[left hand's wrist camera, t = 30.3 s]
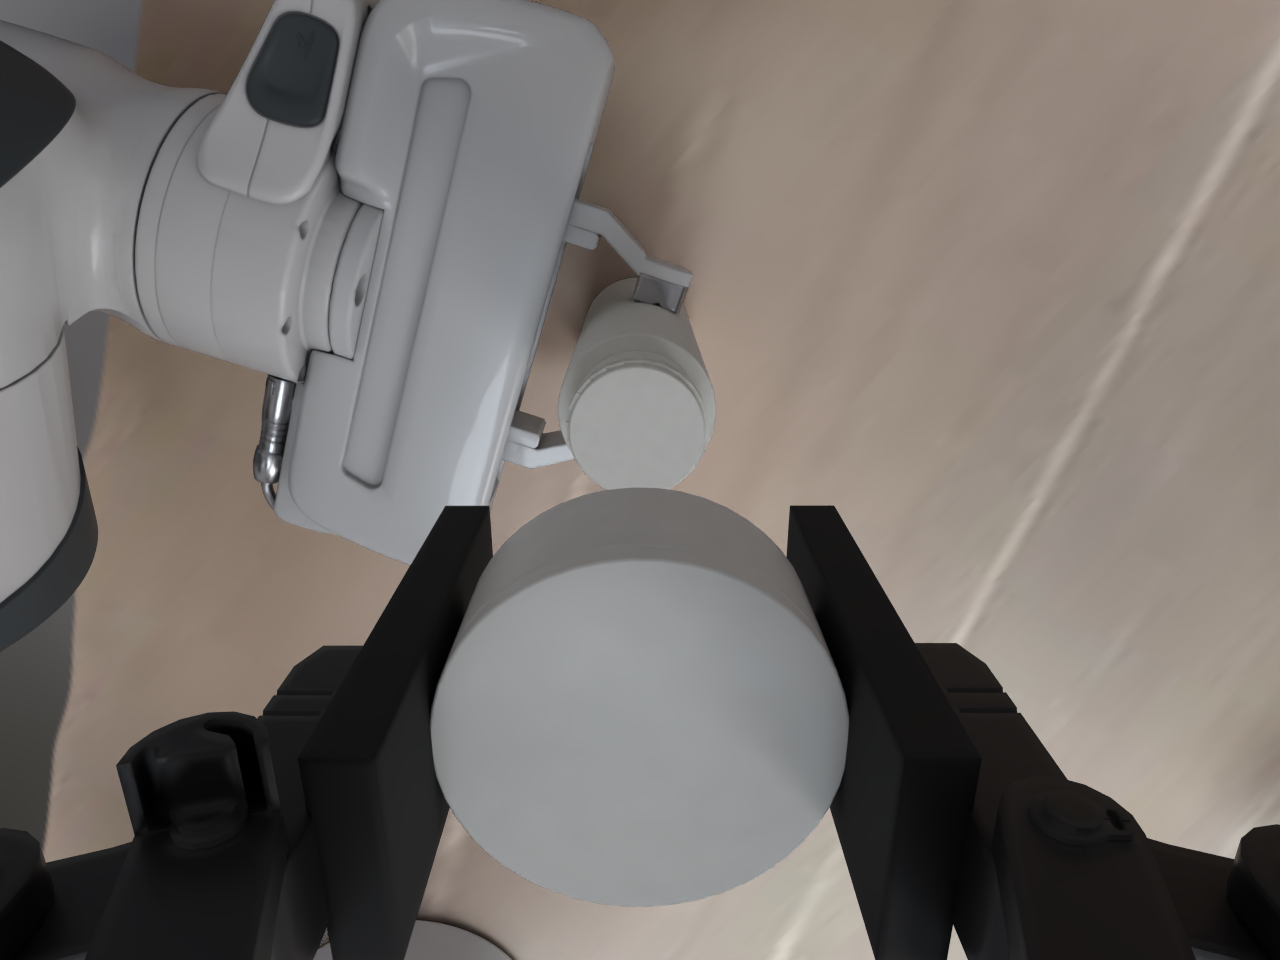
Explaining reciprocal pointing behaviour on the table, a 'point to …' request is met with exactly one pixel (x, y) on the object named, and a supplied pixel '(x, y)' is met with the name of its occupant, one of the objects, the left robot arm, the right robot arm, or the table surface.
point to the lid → (639, 702)
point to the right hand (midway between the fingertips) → (660, 369)
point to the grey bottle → (636, 394)
